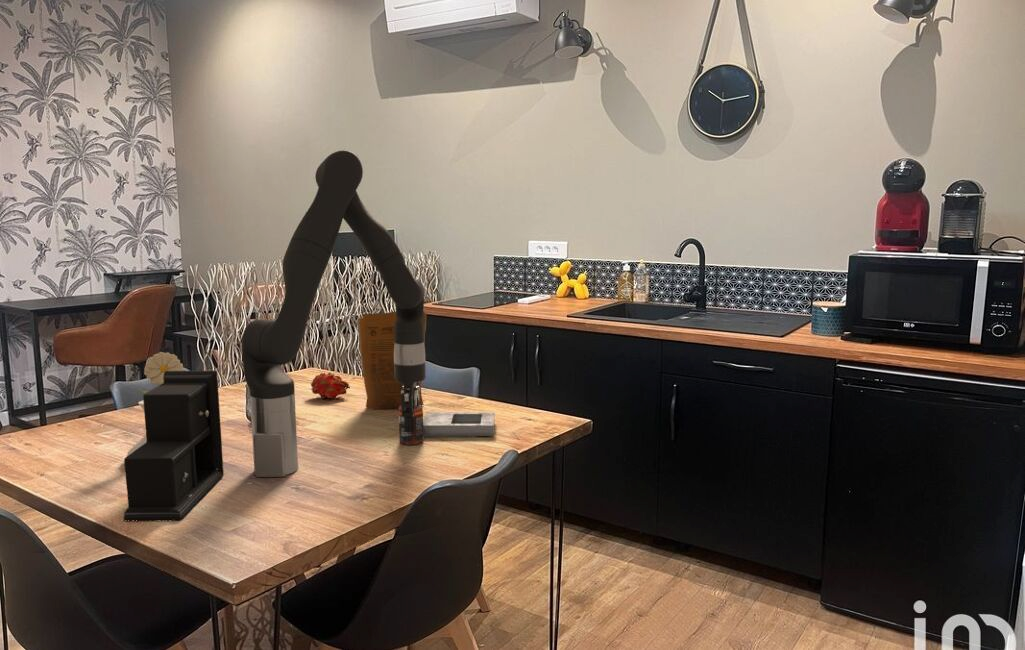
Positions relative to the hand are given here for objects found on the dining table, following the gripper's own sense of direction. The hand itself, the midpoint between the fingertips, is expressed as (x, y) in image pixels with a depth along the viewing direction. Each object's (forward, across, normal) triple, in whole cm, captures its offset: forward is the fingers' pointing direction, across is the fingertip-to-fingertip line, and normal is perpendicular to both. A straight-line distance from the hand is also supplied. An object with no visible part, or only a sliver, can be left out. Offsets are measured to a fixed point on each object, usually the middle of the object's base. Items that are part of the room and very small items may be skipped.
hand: (411, 427), depth 186 cm
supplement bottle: (+4, 0, 0) cm, 4 cm away
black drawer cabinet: (+4, -36, +42) cm, 55 cm away
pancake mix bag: (+4, +32, +9) cm, 33 cm away
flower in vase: (+4, -13, +56) cm, 58 cm away
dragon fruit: (+4, +43, +30) cm, 53 cm away
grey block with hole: (+4, +10, -11) cm, 15 cm away
